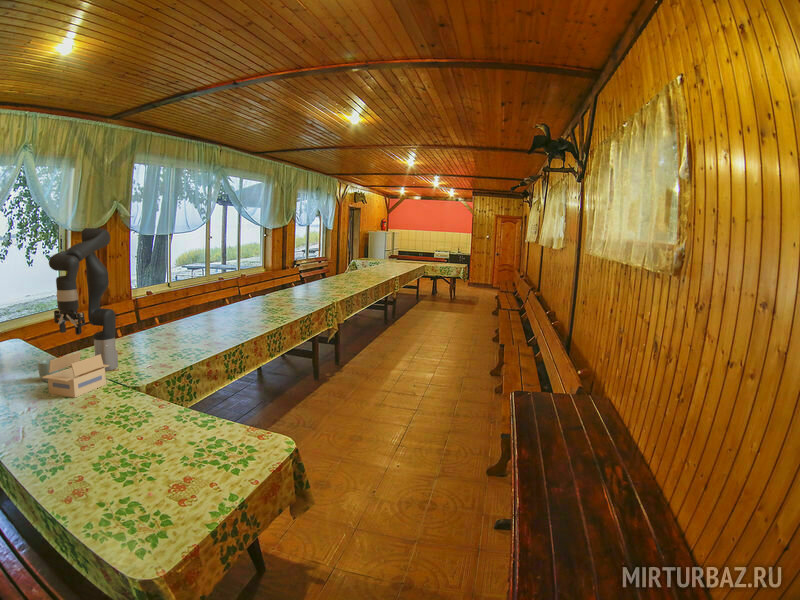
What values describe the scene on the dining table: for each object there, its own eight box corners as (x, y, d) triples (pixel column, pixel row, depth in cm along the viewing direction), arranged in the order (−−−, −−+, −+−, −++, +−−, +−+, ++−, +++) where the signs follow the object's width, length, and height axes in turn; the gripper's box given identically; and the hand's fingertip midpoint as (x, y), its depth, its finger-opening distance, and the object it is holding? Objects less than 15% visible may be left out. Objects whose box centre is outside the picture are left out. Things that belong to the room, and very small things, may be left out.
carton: (87, 379, 208) (86, 361, 206) (111, 383, 205) (110, 365, 204) (42, 396, 186) (40, 377, 184) (68, 400, 184) (66, 380, 182)
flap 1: (79, 363, 202) (78, 362, 202) (80, 351, 201) (80, 351, 201) (49, 372, 188) (48, 372, 188) (50, 360, 187) (49, 360, 187)
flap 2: (74, 376, 186) (74, 376, 186) (70, 363, 185) (71, 363, 185) (103, 366, 200) (103, 366, 200) (100, 354, 199) (100, 354, 199)
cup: (48, 384, 200) (46, 364, 198) (35, 382, 201) (33, 362, 200) (64, 378, 207) (63, 359, 206) (51, 376, 209) (50, 357, 207)
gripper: (88, 299, 190) (91, 333, 193) (62, 296, 192) (66, 329, 195) (72, 302, 182) (75, 337, 185) (46, 299, 185) (49, 333, 188)
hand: (70, 333), depth 190 cm, fingers open, 8 cm apart
